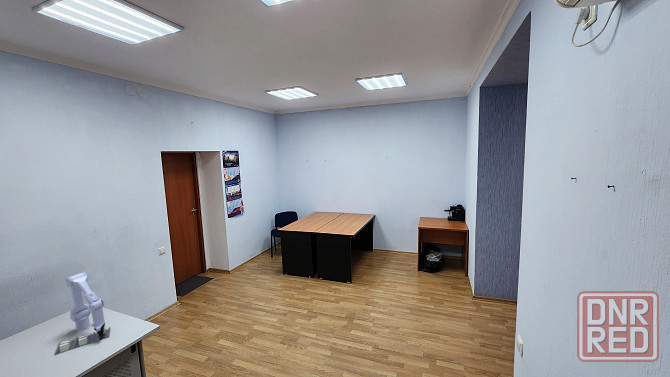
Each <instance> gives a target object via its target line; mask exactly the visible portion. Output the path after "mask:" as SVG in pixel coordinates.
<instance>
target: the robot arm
mask: <svg viewBox="0 0 670 377" xmlns="http://www.w3.org/2000/svg"><path fill="white" fill-rule="evenodd" d="M88 278H89V276H88V274H87V273H86V272H85V271H83V272H80V273H76V274H74V275H72V276H67V278H66V279H65V282H66V286H67V288H70V290H71V294H72V300H73V305H74V307H73V308H72V309H71V310H70V312H69V313H70V315H69V316H70V319H71V321H72V322H74V324H75V329H76V332H82V331H85V330H87V329H89V328H90V326H91V327H93V330H94V331H95V333H98V335H99V336H101V335H103V332H104V327H105V328H106V321H105V316H104V311H103V307H104V301H103V299H101V298H100V297H98V296H97V294H96V292H95V291H92V290H91V288H90V286H89V283H88V281H89V280H88ZM82 293H83V294H84V298H83V294H82ZM84 299H85V301H86V303H87V304H86V303H85V302H84ZM90 315H91V318H92V322H93V323H92V322H90Z"/></svg>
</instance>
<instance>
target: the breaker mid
mask: <svg viewBox="0 0 670 377" xmlns="http://www.w3.org/2000/svg"><path fill="white" fill-rule="evenodd" d="M87 335H88V334H85V335H82V336H79V337H78V338H79V340H78V341H79V346H81V345H84V344H87V343H88V336H87ZM87 345H88V344H87ZM84 346H85V345H84ZM81 347H82V346H81Z"/></svg>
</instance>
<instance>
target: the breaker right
mask: <svg viewBox="0 0 670 377" xmlns="http://www.w3.org/2000/svg"><path fill="white" fill-rule="evenodd" d="M69 341H70V340H66V341H63V342H60V343H61V344H60V346H59V347H60V352H62V351H65V350H68V349H69V348H70V342H69Z"/></svg>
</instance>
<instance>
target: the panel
mask: <svg viewBox="0 0 670 377" xmlns="http://www.w3.org/2000/svg"><path fill="white" fill-rule="evenodd" d="M86 335H87V336H88V343H87V344H84V345H81V346H79V341H78V340H79V337H78V336H76V337H75V339H71V340H68V341H69V342H70V348H69V349H68V350H65V351H62V352H60V347H59V346H60V344H61V343H62V342H58V344H57V347H56V349H55V351H54V356H56V355H60V354H62V353H66V352H69V351H72V350H74V349H77V348H81V347H84V346H87V345H90V344H93V343H96V342H99V341H103V340H106V339H109V338H110V336H111V326H109V327H108V329H106V333H105V334H103V335H101V336H98V333H97V332H96V331H95V332H92V333H91V334H86Z"/></svg>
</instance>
